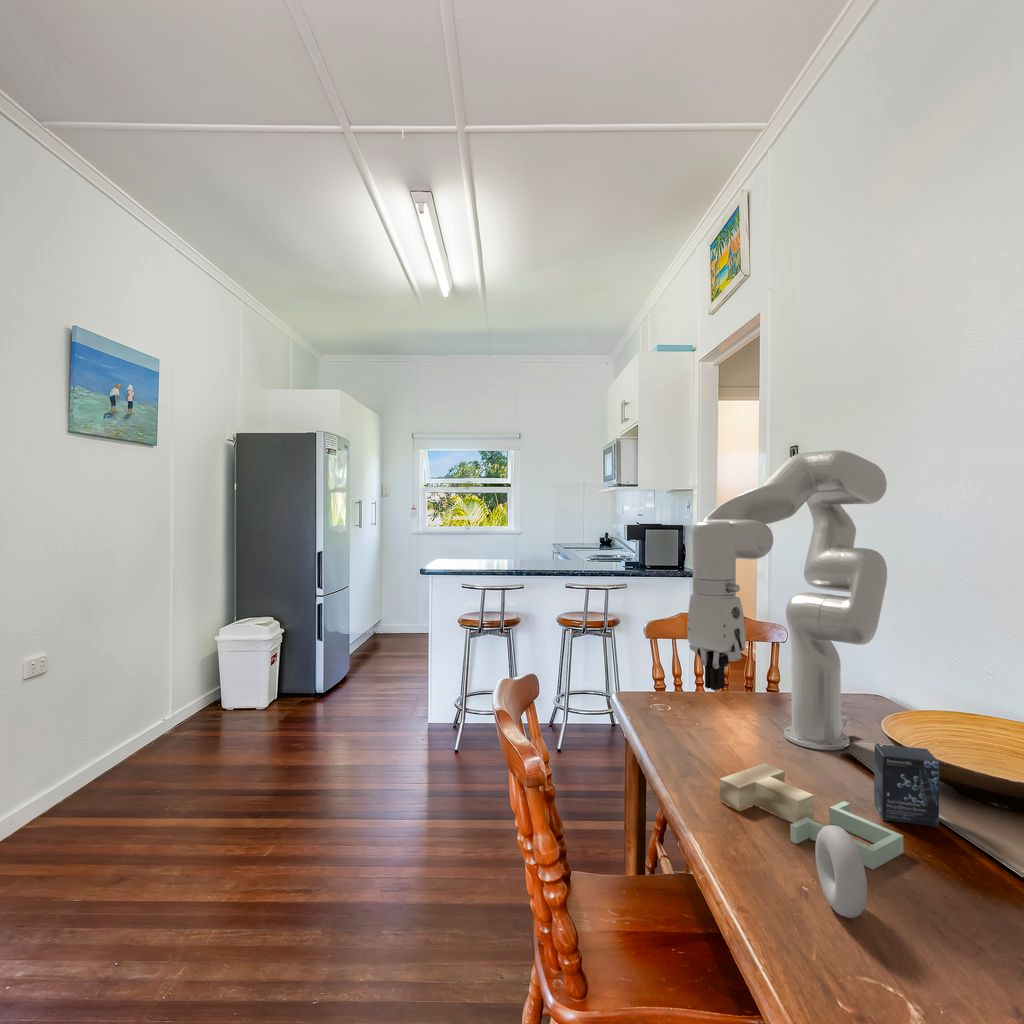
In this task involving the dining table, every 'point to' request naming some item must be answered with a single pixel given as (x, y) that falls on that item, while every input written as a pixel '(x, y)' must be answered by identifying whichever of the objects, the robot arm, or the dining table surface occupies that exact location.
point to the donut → (841, 871)
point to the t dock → (872, 856)
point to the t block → (767, 793)
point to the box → (906, 785)
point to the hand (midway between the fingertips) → (714, 687)
